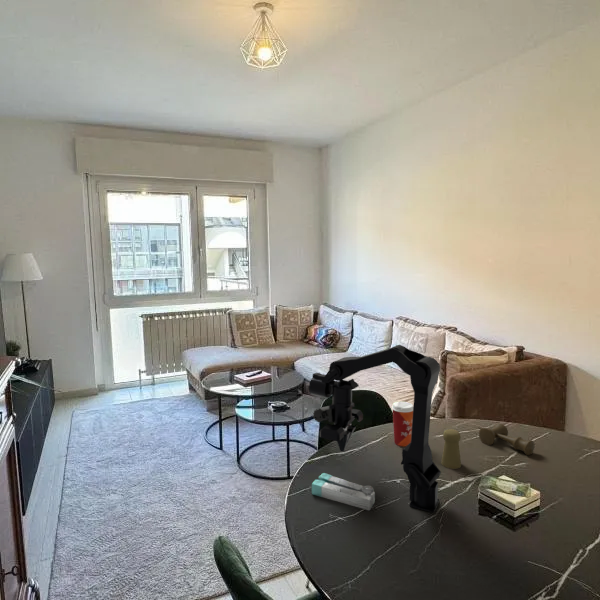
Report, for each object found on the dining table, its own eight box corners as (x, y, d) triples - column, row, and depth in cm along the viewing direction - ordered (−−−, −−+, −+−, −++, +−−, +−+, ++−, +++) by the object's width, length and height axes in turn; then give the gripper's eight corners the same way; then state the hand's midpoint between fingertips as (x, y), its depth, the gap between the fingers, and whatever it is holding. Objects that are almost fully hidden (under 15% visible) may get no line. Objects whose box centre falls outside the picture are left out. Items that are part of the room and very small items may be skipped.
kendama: (523, 461, 143) (469, 438, 160) (538, 453, 149) (485, 432, 165) (524, 443, 143) (470, 422, 159) (540, 436, 148) (486, 416, 165)
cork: (458, 459, 144) (459, 427, 142) (463, 469, 138) (464, 435, 136) (439, 459, 144) (440, 426, 143) (443, 468, 138) (444, 434, 137)
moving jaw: (363, 496, 124) (363, 485, 123) (358, 500, 122) (358, 489, 121) (323, 482, 131) (323, 472, 131) (318, 486, 129) (318, 476, 129)
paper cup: (408, 449, 151) (408, 410, 150) (387, 444, 156) (387, 405, 154) (417, 441, 158) (418, 403, 156) (397, 436, 162) (397, 399, 160)
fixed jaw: (376, 499, 122) (376, 487, 122) (369, 510, 117) (369, 498, 116) (321, 484, 130) (321, 473, 130) (311, 494, 125) (311, 482, 125)
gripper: (331, 387, 144) (331, 434, 146) (303, 406, 128) (303, 458, 129) (363, 392, 138) (363, 440, 140) (338, 412, 122) (338, 466, 124)
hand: (342, 450), depth 134 cm, fingers closed
